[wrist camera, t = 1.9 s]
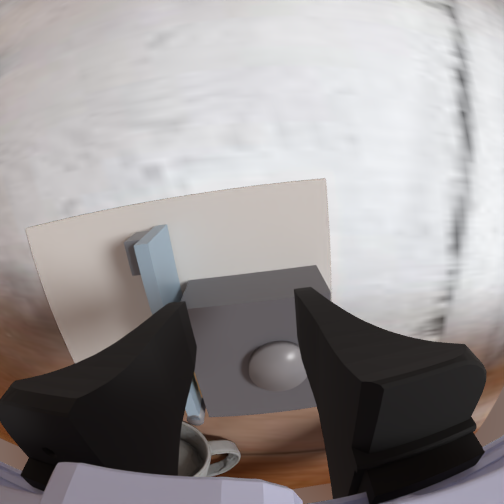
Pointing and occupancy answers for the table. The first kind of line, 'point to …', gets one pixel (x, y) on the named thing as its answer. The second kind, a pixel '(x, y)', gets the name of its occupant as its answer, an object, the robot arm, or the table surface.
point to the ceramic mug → (203, 454)
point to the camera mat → (184, 250)
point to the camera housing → (250, 341)
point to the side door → (161, 289)
